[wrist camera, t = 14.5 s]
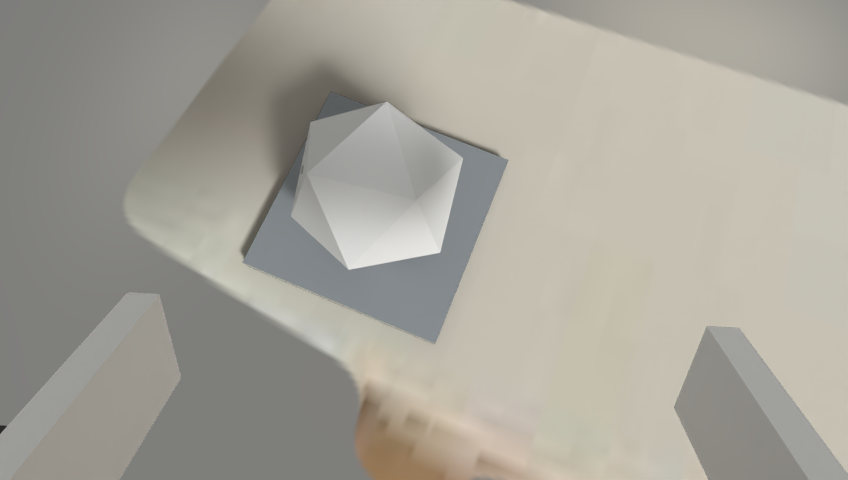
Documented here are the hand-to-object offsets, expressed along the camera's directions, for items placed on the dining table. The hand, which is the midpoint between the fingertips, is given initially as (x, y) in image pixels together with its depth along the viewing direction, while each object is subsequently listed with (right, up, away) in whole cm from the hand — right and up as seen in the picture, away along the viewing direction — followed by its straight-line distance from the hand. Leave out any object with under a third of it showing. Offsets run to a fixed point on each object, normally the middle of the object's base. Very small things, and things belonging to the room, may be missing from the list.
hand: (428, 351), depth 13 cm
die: (-3, +4, +18) cm, 19 cm away
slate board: (-3, +4, +19) cm, 20 cm away
